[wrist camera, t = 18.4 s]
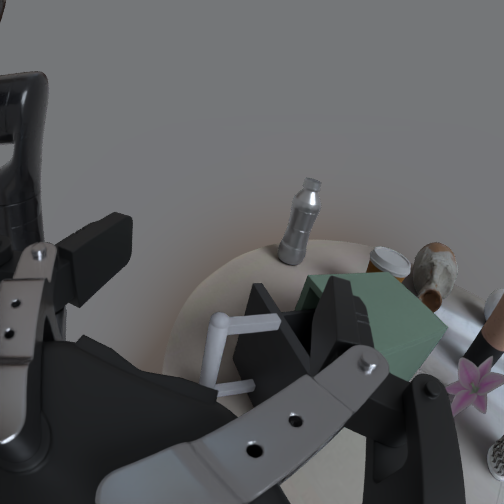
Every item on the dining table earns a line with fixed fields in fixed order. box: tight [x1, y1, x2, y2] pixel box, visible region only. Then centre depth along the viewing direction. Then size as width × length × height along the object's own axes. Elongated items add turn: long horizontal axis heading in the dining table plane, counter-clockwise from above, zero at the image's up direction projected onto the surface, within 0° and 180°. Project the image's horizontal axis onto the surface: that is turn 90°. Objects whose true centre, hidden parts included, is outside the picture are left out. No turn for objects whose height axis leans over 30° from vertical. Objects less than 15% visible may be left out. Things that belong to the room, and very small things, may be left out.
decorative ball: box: [484, 288, 504, 321], centre depth 60 cm, size 12×12×12 cm
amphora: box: [413, 242, 458, 313], centre depth 68 cm, size 14×16×30 cm
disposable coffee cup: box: [366, 246, 411, 283], centre depth 58 cm, size 10×10×12 cm
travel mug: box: [463, 294, 504, 368], centre depth 40 cm, size 8×8×20 cm
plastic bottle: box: [278, 178, 321, 265], centre depth 65 cm, size 6×7×20 cm
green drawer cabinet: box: [295, 272, 448, 382], centre depth 38 cm, size 16×14×14 cm
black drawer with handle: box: [199, 283, 316, 408], centre depth 33 cm, size 22×14×15 cm, turn 111°
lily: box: [445, 356, 504, 417], centre depth 35 cm, size 12×12×10 cm
